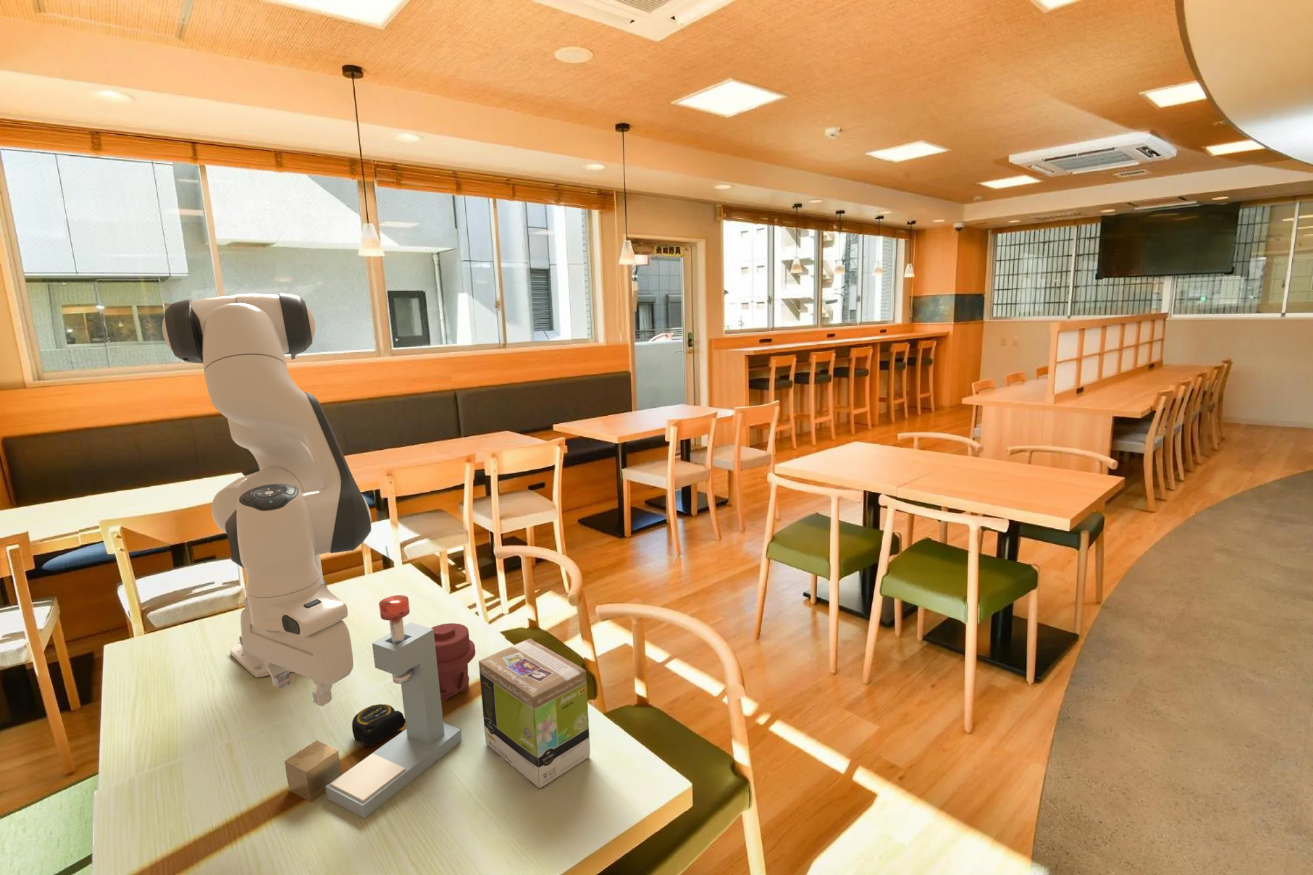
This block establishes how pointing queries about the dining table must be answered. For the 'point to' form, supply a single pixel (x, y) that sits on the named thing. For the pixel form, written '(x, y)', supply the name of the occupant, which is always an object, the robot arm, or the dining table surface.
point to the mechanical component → (452, 658)
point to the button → (396, 625)
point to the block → (312, 770)
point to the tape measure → (376, 723)
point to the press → (414, 745)
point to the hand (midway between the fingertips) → (302, 693)
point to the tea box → (535, 710)
